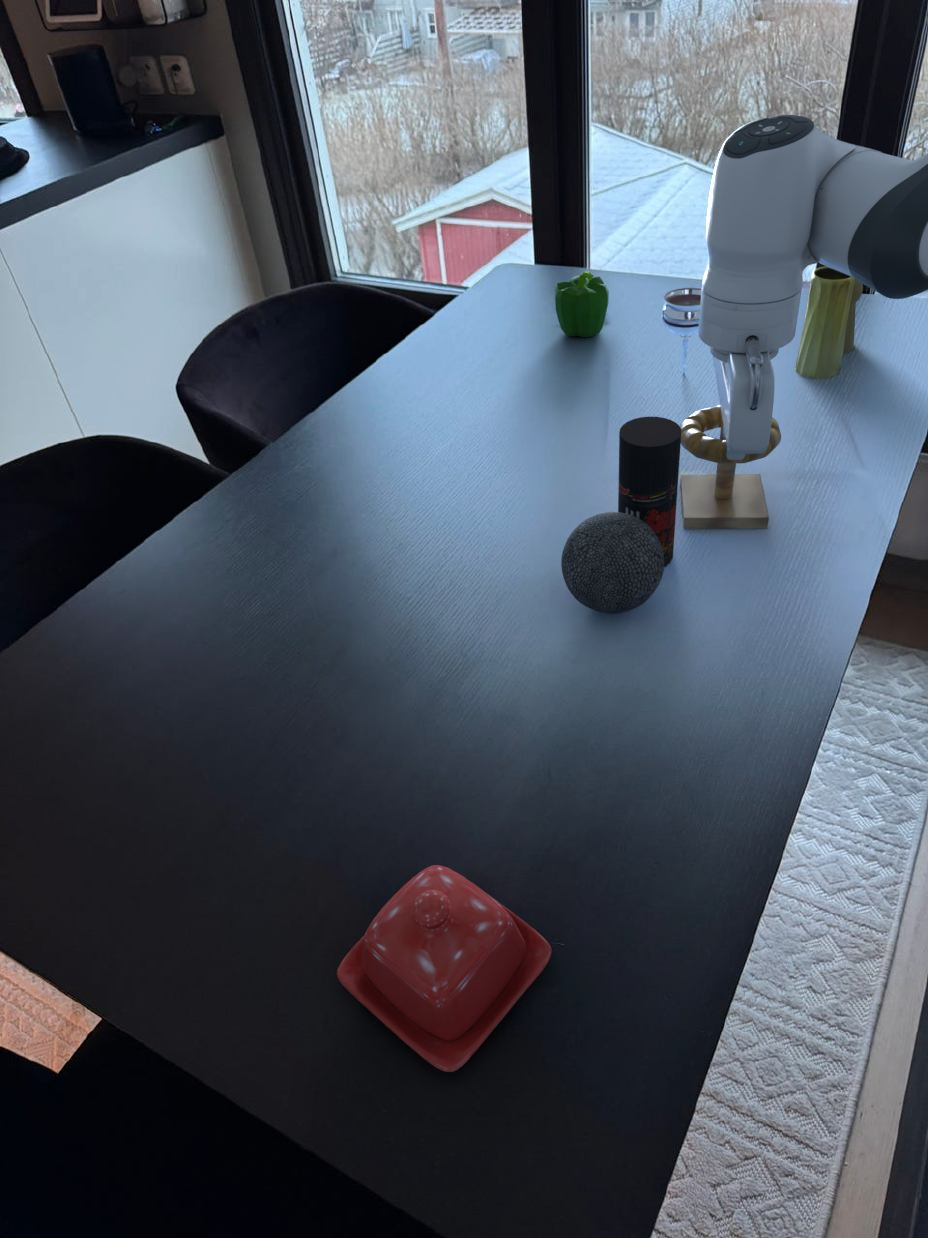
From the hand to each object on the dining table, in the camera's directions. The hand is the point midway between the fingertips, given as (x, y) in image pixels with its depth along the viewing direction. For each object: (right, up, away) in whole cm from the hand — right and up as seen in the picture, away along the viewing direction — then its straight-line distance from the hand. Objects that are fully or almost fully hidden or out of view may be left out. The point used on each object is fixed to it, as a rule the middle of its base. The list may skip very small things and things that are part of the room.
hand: (733, 447), depth 92 cm
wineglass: (+3, +16, +34) cm, 38 cm away
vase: (+21, +16, +31) cm, 40 cm away
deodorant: (-8, -11, +4) cm, 14 cm away
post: (+2, -5, +9) cm, 11 cm away
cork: (+25, +20, +36) cm, 48 cm away
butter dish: (-29, -43, -30) cm, 59 cm away
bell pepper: (-9, +28, +50) cm, 58 cm away
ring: (+1, +2, +3) cm, 4 cm away
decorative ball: (-13, -16, -1) cm, 21 cm away
